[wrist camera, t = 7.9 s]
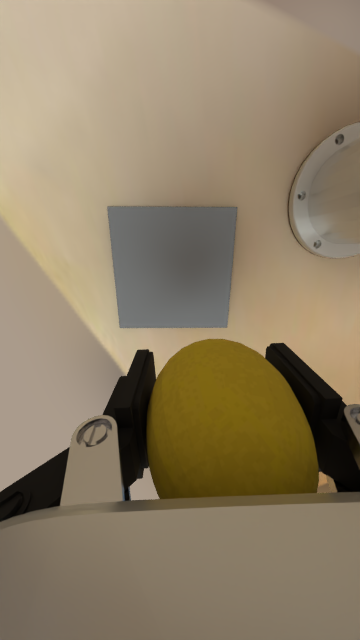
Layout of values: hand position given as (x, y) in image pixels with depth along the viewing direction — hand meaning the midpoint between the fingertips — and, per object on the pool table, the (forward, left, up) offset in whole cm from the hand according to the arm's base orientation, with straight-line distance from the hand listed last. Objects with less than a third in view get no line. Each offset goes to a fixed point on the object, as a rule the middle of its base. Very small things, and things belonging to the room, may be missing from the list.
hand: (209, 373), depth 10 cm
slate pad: (+2, -3, -17) cm, 17 cm away
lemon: (0, 0, -1) cm, 2 cm away
